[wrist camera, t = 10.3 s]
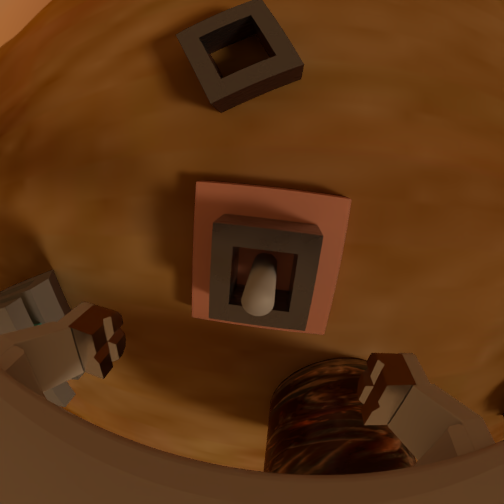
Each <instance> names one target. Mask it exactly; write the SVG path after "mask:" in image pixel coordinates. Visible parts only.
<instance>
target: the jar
mask: <svg viewBox="0 0 504 504" xmlns="http://www.w3.org/2000/svg"><path fill="white" fill-rule="evenodd" d="M366 362H367V361H364V360H360V359H352V358H341V359H332V360H326V361H322V362H318V363H315V364H312V365H309V366H307V367H305V368H303V369H301V370H299V371H297V372H295V373H294V374H292V375H290V376H289V377H288V378H287V379H285V380H284V381H283V382H282V383H281V384H280V385H279V386H278V388H277V389H276V391H275V392H274V394H273V397H272V400H271V405H270V413H269V423H268V433H267V443H266V453H265V463H264V472H270V473H282V474H299V475H345V474H361V473H373V472H382V471H390V470H397V469H403V468H409V467H412V466H413V465H415V464H416V460H415V456H414V455H413V454H412V453H411V452H410V451H409V449H408V448H407V447H406V446H405V445H404V444H403V443H402V442H401V441H400V439H399V438H398V437H397V436H396V435H395V434H394V433H393V432H392V430H391V429H390V428H389V427H388V425H364V422H363V417H362V413H361V409H362V407H363V405H364V404H363V403H362V402H361V401H359V399H358V393H357V388H358V382H359V379H360V376H361V374H362V372H364V371H365V370H366V369H368V366H367V363H366Z"/></svg>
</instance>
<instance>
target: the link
mask: <svg viewBox="0 0 504 504" xmlns="http://www.w3.org/2000/svg"><path fill="white" fill-rule="evenodd" d="M322 242H323V234H322V232H321V230H320V229H319V227H318V225H317V224H309V223H302V222H294V221H286V220H278V219H269V218H261V217H252V216H243V215H234V214H223V215H222V216H220V217H219V218H218V219H217V220H215V221H214V222H213V228H212V245H211V265H210V290H209V318H211V319H217V320H224V321H230V322H237V323H244V324H251V325H258V326H266V327H274V328H283V329H291V330H301V331H305V330H306V325H307V321H308V316H309V311H310V306H311V302H312V297H313V292H314V286H315V281H316V276H317V270H318V265H319V259H320V253H321V248H322ZM240 247H243V248H251V249H260V250H268V251H276V252H284V253H292V254H294V259H293V266H292V272H291V279H290V285H289V291H286V290H278V289H275V300H274V306H273V309H272V310H271V311H270V312H269V313H268V314H266V315H263V316H254V315H251V314H249V313H247V312H246V311H245V310H244V308H243V306H242V303H241V299H242V295H243V292H244V289H245V286H246V285H239V284H237V274H238V262H239V250H240Z"/></svg>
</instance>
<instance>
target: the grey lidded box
mask: <svg viewBox="0 0 504 504" xmlns="http://www.w3.org/2000/svg"><path fill="white" fill-rule="evenodd" d="M70 311H71V310H70V308H69V305H68V303H67V301H66V299H65V297H64V294H63V292H62V290H61V288H60V285H59V283H58V280H57V278H56V275H55V273H54V270H51V271H48V272H46V273H43V274H40V275H38V276H35V277H33V278H30V279H28V280H25V281H23V282H21V283H18V284H16V285H13V286H11V287H9V288H7V289H5V290H3V291H1V292H0V335H1V334H5V333H9V332H13V331H17V330H21V329H25V328H29V327H33V326H37V325H41V324H45V323H49V322H53V321H54V322H58V321H59V320H60V319H62V318H63V317H64V316H65V315H66V314H68V313H69V312H70ZM83 374H84V373H82V374H80V375H78V376H76V377H74V378H72V379H79V378H80V377H81V376H82V375H83ZM43 393H44V395H45V397H46V399H47V400H49V401H50V402H52V403H54V404H56V405H57V406H62V407H66V405H67V404H68V403H69V402H70V400H71V399H72V398H73V397H74V395H75V393H74V391H73V390H72V389H71V387H70V386H69V384H68V383H67V381H66V382H64V383H62V384H60V385H58V386H56V387H53V388H51V389H49V390H47V391H45V392H43Z"/></svg>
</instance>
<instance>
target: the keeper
mask: <svg viewBox="0 0 504 504" xmlns="http://www.w3.org/2000/svg"><path fill="white" fill-rule="evenodd" d="M350 206H351V199H350V198H348V197H344V196H337V195H331V194H324V193H317V192H310V191H303V190H295V189H287V188H278V187H270V186H261V185H251V184H240V183H229V182H217V181H197V182H196V194H195V212H194V234H193V266H192V317H194V318H200V319H206V320H212V321H218V322H224V323H230V324H237V325H244V326H251V327H258V328H266V329H274V330H283V331H292V332H301V333H311V334H322V335H324V333H325V329H326V325H327V321H328V317H329V313H330V309H331V304H332V300H333V296H334V291H335V287H336V282H337V278H338V273H339V268H340V263H341V258H342V253H343V247H344V242H345V236H346V231H347V225H348V219H349V212H350ZM223 214H234V215H243V216H252V217H261V218H269V219H278V220H286V221H294V222H302V223H309V224H317V225H318V227H319V229H320V230H321V232H322V234H323V242H322V248H321V253H320V259H319V265H318V270H317V276H316V281H315V286H314V292H313V297H312V302H311V306H310V311H309V316H308V321H307V325H306V330H305V331H301V330H291V329H283V328H274V327H266V326H258V325H251V324H244V323H237V322H230V321H224V320H217V319H211V318H209V290H210V265H211V245H212V228H213V222H214V221H215V220H217V219H218V218H219V217H220V216H222V215H223ZM293 259H294V254H292V253H284V252H276V251H268V250H260V249H251V248H243V247H240V250H239V262H238V274H237V284H239V285H246V286H245V289H244V292H243V295H242V299H241V303H242V306H243V308H244V310H245V311H246V312H247V313H249V314H251V315H254V316H263V315H266V314H268V313H269V312H270V311H271V310H272V309H273V306H274V300H275V289H278V290H286V291H289V285H290V279H291V272H292V266H293Z"/></svg>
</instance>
